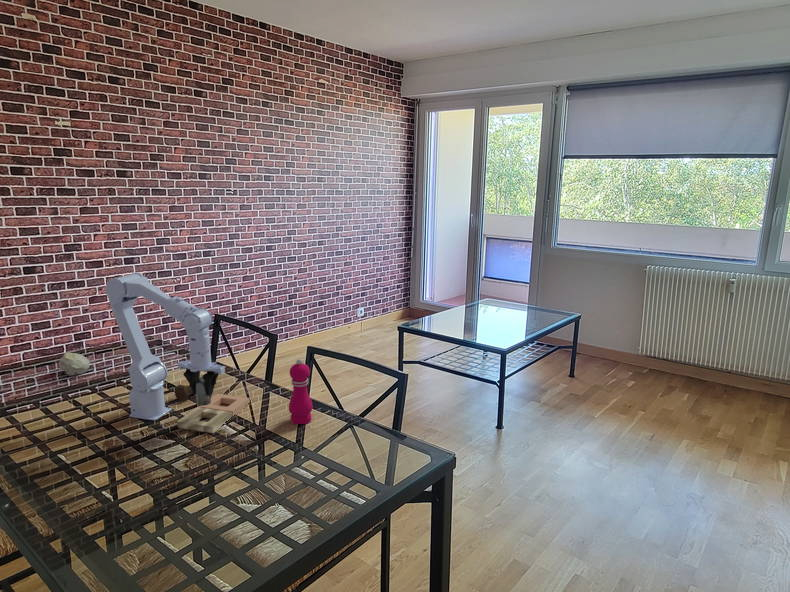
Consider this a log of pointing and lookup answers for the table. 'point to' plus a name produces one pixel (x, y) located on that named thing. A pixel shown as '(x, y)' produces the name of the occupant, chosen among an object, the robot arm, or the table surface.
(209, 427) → the pin mount
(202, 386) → the pin
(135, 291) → the robot arm
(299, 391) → the pepper mill
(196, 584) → the table surface
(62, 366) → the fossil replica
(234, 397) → the socket block
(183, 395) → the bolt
